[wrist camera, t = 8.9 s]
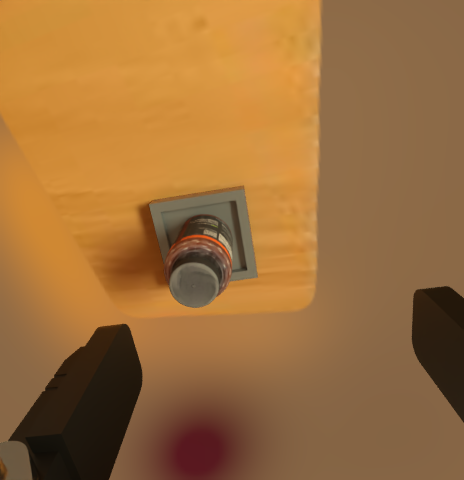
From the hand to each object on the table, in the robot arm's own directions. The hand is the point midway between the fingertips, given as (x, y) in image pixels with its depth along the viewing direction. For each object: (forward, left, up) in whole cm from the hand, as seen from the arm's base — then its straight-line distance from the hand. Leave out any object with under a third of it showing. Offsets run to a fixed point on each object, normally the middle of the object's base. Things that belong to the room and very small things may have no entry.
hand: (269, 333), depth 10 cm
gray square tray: (+6, -6, -28) cm, 29 cm away
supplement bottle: (+6, -5, -27) cm, 28 cm away
